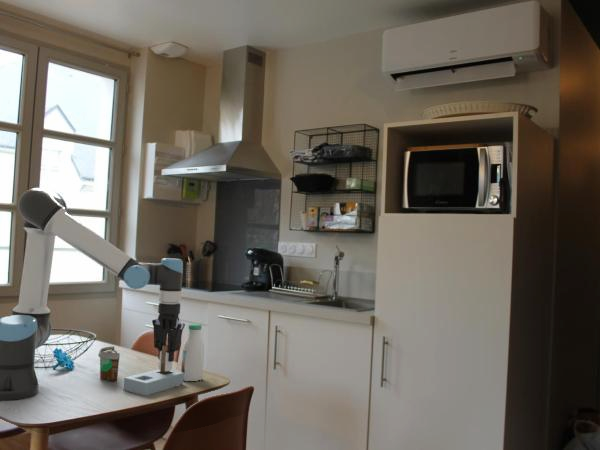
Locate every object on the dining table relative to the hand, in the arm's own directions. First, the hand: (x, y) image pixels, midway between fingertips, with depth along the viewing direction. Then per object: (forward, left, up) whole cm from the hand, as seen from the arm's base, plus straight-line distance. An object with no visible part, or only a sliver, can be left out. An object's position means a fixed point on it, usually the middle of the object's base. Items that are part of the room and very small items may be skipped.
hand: (165, 369), depth 193 cm
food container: (-8, +20, -5) cm, 22 cm away
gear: (-9, +41, -5) cm, 42 cm away
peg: (0, 0, -4) cm, 4 cm away
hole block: (-5, 0, -5) cm, 7 cm away
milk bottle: (+11, -3, -5) cm, 13 cm away
